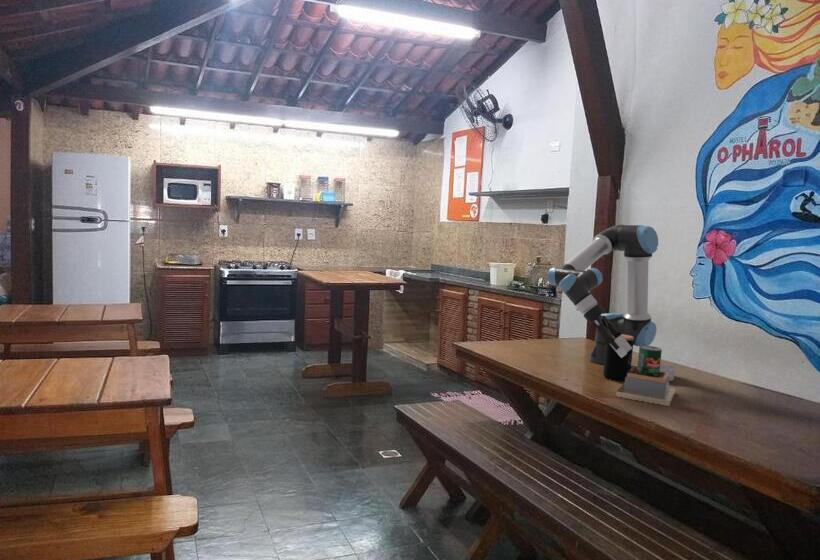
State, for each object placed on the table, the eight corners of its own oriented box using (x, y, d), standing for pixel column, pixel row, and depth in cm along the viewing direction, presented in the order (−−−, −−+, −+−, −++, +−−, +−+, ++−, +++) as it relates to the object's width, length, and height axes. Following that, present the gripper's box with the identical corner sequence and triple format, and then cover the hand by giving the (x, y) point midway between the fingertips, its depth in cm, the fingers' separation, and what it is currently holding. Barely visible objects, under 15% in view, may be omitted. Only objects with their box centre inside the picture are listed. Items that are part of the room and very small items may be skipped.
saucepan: (621, 375, 256) (622, 362, 256) (663, 376, 260) (664, 363, 260) (636, 382, 245) (638, 369, 245) (680, 383, 249) (681, 370, 249)
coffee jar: (632, 382, 243) (636, 339, 242) (605, 380, 245) (609, 336, 244) (626, 376, 254) (631, 334, 252) (600, 374, 256) (604, 332, 254)
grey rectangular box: (625, 384, 239) (627, 363, 239) (674, 393, 231) (676, 371, 230) (616, 396, 220) (618, 373, 219) (669, 406, 211) (671, 382, 211)
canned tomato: (651, 380, 219) (654, 350, 218) (632, 375, 225) (635, 346, 224) (663, 378, 224) (666, 349, 223) (643, 373, 230) (646, 344, 229)
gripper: (589, 311, 246) (623, 353, 240) (575, 318, 224) (613, 364, 218) (603, 300, 243) (639, 342, 238) (591, 305, 221) (630, 352, 215)
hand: (627, 353), depth 228 cm, fingers open, 13 cm apart
